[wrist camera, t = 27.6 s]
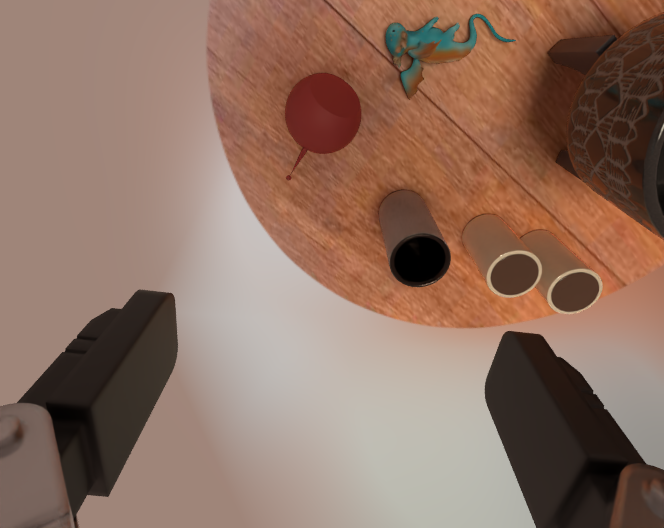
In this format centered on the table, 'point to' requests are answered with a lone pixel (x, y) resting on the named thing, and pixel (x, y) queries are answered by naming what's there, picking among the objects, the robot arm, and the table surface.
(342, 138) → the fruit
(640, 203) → the planter
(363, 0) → the table surface
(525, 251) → the pot
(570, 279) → the pot
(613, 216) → the table surface
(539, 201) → the table surface
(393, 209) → the grey cylindrical cup
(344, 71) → the table surface
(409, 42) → the dragon figurine
